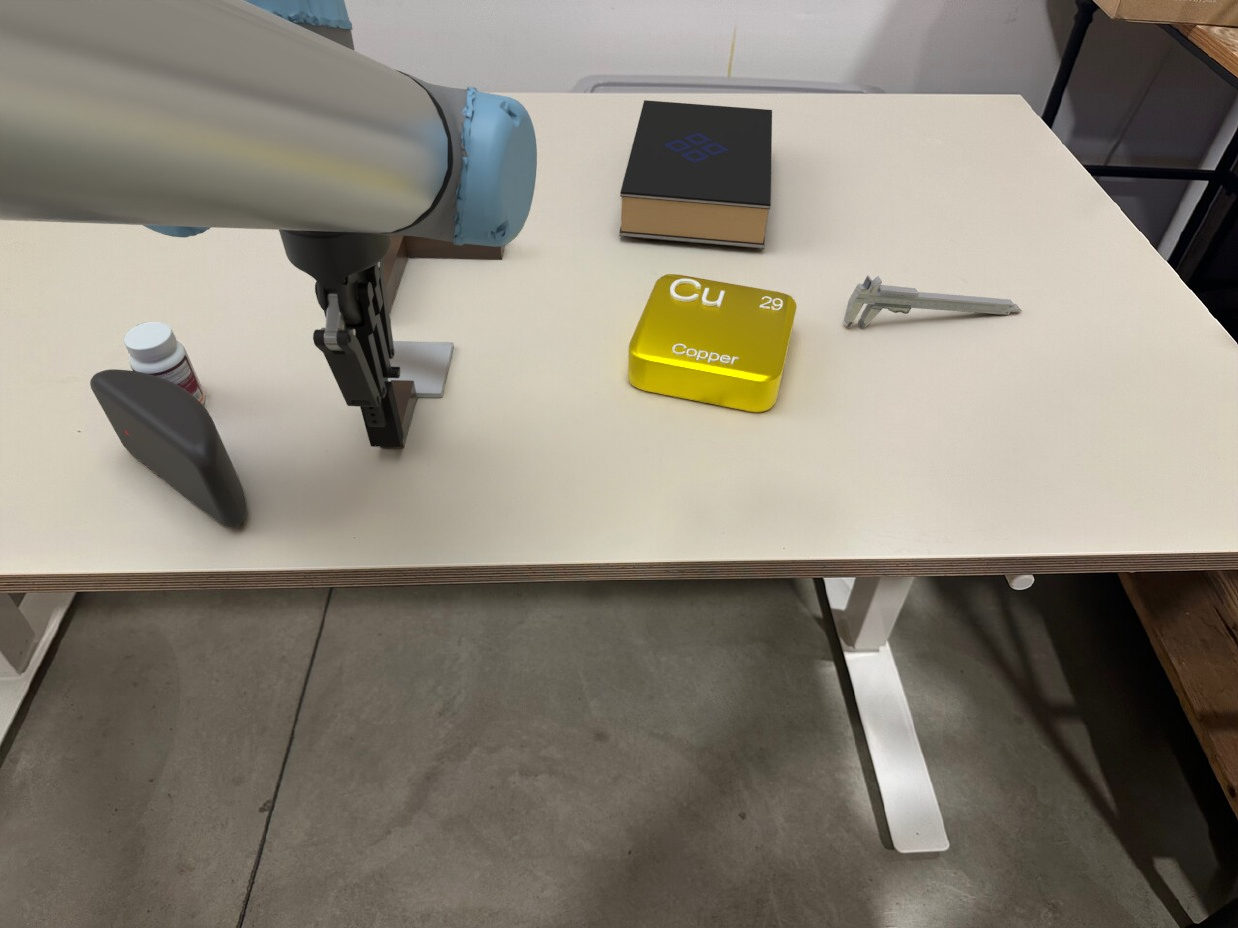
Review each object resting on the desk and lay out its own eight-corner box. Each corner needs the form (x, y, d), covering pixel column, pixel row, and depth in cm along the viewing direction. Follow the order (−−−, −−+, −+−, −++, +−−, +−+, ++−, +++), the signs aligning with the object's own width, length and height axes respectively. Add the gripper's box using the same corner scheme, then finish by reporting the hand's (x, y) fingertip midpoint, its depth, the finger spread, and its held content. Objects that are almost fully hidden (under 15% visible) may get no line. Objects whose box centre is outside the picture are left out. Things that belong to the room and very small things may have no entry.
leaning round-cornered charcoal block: (279, 506, 74) (246, 427, 67) (233, 539, 72) (195, 460, 65) (169, 425, 81) (129, 346, 74) (123, 453, 78) (78, 373, 71)
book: (765, 156, 120) (772, 109, 115) (763, 254, 103) (771, 204, 98) (642, 147, 121) (643, 100, 117) (619, 242, 104) (620, 191, 99)
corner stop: (488, 327, 92) (486, 304, 90) (367, 324, 92) (361, 301, 90) (516, 181, 114) (515, 160, 112) (418, 179, 114) (414, 157, 112)
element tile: (622, 388, 86) (623, 350, 82) (658, 302, 96) (660, 265, 92) (772, 417, 83) (780, 380, 80) (792, 327, 93) (800, 289, 90)
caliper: (845, 331, 93) (858, 281, 88) (842, 324, 94) (854, 275, 89) (1020, 314, 96) (1041, 266, 91) (1015, 308, 96) (1036, 260, 92)
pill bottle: (153, 394, 84) (118, 324, 78) (205, 383, 85) (175, 314, 79) (153, 426, 81) (117, 356, 75) (207, 414, 82) (176, 344, 76)
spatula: (430, 449, 79) (426, 431, 78) (353, 447, 79) (349, 429, 78) (453, 346, 90) (451, 329, 88) (386, 345, 90) (382, 328, 88)
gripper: (361, 255, 56) (416, 496, 73) (399, 160, 65) (440, 394, 82) (246, 252, 56) (327, 493, 73) (300, 157, 65) (361, 392, 82)
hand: (387, 441), depth 78 cm, fingers closed
